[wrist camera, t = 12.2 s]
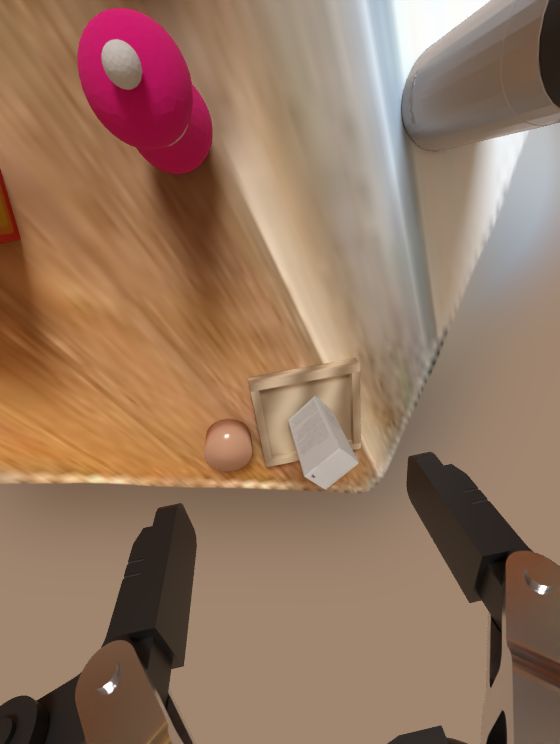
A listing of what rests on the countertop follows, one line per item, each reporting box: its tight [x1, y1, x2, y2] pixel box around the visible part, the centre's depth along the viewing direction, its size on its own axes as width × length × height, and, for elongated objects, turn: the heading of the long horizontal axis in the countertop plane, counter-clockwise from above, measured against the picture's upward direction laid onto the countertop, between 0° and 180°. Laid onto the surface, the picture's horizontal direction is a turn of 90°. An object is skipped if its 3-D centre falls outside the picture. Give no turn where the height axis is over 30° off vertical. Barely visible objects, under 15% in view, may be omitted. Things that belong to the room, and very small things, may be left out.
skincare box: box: [288, 396, 359, 490], centre depth 45 cm, size 6×4×12 cm
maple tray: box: [249, 358, 361, 467], centre depth 50 cm, size 16×16×2 cm
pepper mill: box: [77, 8, 212, 174], centre depth 24 cm, size 7×7×20 cm
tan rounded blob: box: [204, 419, 252, 471], centre depth 49 cm, size 7×7×4 cm
